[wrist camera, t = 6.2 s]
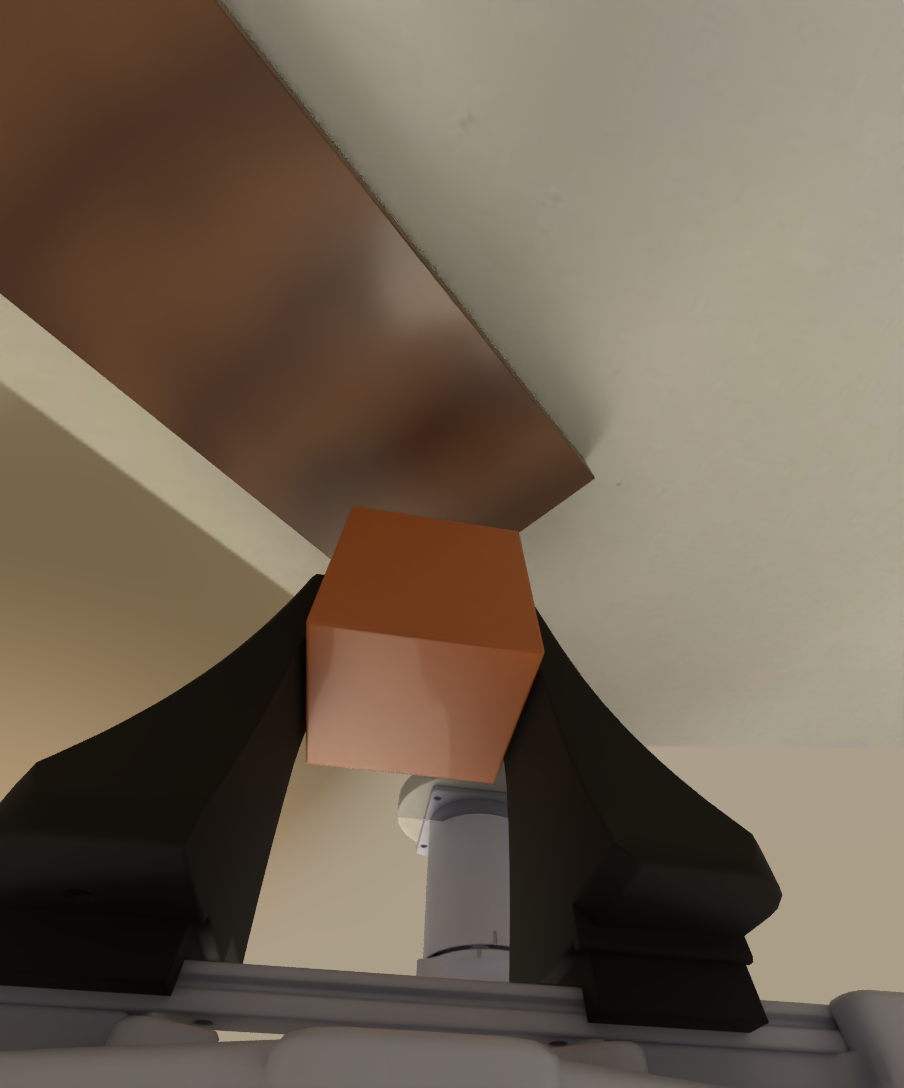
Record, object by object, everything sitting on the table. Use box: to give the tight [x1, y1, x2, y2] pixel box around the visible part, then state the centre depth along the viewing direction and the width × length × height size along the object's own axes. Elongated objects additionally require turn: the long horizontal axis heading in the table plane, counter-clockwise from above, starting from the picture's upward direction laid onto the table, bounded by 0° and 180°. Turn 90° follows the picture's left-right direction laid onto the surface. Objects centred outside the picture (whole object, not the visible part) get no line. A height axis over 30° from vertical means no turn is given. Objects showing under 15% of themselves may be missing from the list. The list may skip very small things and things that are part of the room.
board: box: [0, 0, 595, 559], centre depth 16 cm, size 20×10×2 cm, turn 42°
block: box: [306, 506, 545, 783], centre depth 12 cm, size 4×4×4 cm
